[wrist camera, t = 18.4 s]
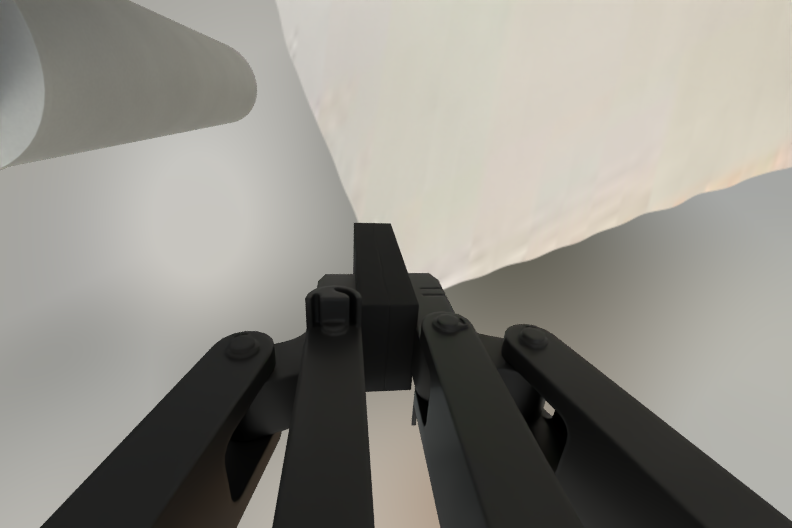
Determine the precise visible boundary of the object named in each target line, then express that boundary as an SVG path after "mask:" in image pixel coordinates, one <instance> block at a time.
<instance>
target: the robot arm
mask: <svg viewBox="0 0 792 528" xmlns="http://www.w3.org/2000/svg"><path fill="white" fill-rule="evenodd" d="M353 266H354V267H353V274H325V275H324V276H323V277H322V278H321V279H320V280H319V281H318V286H317V289H314V290H313V291H311V292H310V293H308V295H307V296H306V298H305V302H306V323H307V329H306V332H305V333H304V334H302V335H301V336H299V337H297V338H295V339H292V340H289V341H286V342H281V343H277V344H274V343H273V340H272V338H271V337H270V336H268V335H267V334H265V333H261V332H257V331H244V332H239V333H235V334H232V335H229V336H227V337H225V338H223V339H221V340H220V341H219V342H217V343H216V344H215V345H214V346H213V347H212V348H211V349H210V350H209V351H208V352H207V353H206V354H205V355H204V356H203V357H202V358H201V359H200V361H198V362H197V363H196V364H195V366H194V367H193V368H192V369H191V370H190V371H189V372H188V373H187V374H186V375H185V376H184V377H183V378H182V379H181V380H180V381H179V382H178V383H177V384H176V386H174V388H173V389H172V390H171V391H170V392H169V393H168V394H167V395H166V396H165V397H164V398H163V399H162V400H161V401H160V402H159V403H158V404H157V405H156V407H155V408H154V409H153V410H152V411H151V412H150V413H149V414H148V415H147V416H146V417H145V418H144V419H143V420H142V421H141V422H140V423H139V424H138V426H136V427H135V428H134V429H133V431H132V432H131V433H130V434H129V435H128V436H127V437H126V438H125V439H124V440H123V441H122V442H121V443H120V444H119V445H118V446H117V447H116V448H115V449H114V450H113V452H112V453H111V454H110V455H109V456H108V457H107V458H106V459H105V460H104V461H103V462H102V463H101V464H100V465H99V466H98V467H97V468H96V469H95V471H93V473H92V474H91V475H90V476H89V477H88V478H87V479H86V480H85V481H84V482H83V483H82V484H81V485H80V486H79V487H78V488H77V489H76V490H75V492H74V493H73V494H72V495H71V496H70V497H69V498H68V499H67V500H66V501H65V502H64V503H63V504H62V505H61V506H60V507H59V508H58V509H57V510H56V511H55V512H54V513H53V515H52V516H51V517H50V518H49V519H48V520H47V521H46V522H45V523H44V524H43V525H42V526H41V527H40V528H237V526H238V524H239V522H240V519H241V517H242V515H243V513H244V511H245V509H246V507H247V505H248V503H249V501H250V499H251V497H252V495H253V493H254V491H255V489H256V487H257V484H258V483H259V481H260V479H261V476H262V474H263V472H264V470H265V468H266V466H267V464H268V462H269V460H270V458H271V456H272V454H273V452H274V450H275V448H276V446H277V444H278V441H279V439H280V437H281V432H282V431H283V430H286V429H289V434H288V439H287V445H286V451H285V457H284V463H283V468H282V475H281V480H280V486H279V492H278V497H277V503H276V510H275V515H274V521H273V527H272V528H374V513H373V497H372V482H371V469H370V452H369V437H368V422H367V407H366V393H365V392H371V391H394V390H411V383H412V376H413V380H414V385H415V394H414V404H413V414H412V425H416V418H417V421H418V425H419V430H420V434H421V440H422V444H423V449H424V454H425V458H426V463H427V468H428V471H429V477H430V482H431V486H432V491H433V495H434V499H435V505H436V509H437V514H438V519H439V523H440V528H792V521H791V520H789V519H788V518H787V517H786V516H784V515H783V514H782V513H780V512H779V511H778V510H777V509H775V508H774V507H773V506H771V505H770V504H769V503H768V502H766V501H765V500H764V499H763V498H761V497H760V496H759V495H757V494H756V493H755V492H754V491H752V490H751V489H750V488H749V487H747V486H746V485H745V484H743V483H742V482H741V481H740V480H738V479H737V478H736V477H734V476H733V475H732V474H731V473H729V472H728V471H727V470H726V469H724V468H723V467H722V466H720V465H719V464H718V463H717V462H715V461H714V460H713V459H712V458H710V457H709V456H708V455H706V454H705V453H704V452H702V451H701V450H700V449H699V448H697V447H696V446H695V445H694V444H692V443H691V442H690V441H688V440H687V439H686V438H685V437H683V436H682V435H681V434H679V433H678V432H677V431H676V430H674V429H673V428H672V427H671V426H669V425H668V424H667V423H666V422H664V421H663V420H662V419H660V418H659V417H658V416H657V415H655V414H654V413H653V412H652V411H650V410H649V409H648V408H646V407H645V406H644V405H642V404H641V403H640V402H639V401H638V400H636V399H635V398H634V397H632V396H631V395H630V394H628V393H627V392H626V391H625V390H623V389H622V388H621V387H619V386H618V385H617V384H616V383H614V382H613V381H612V380H611V379H609V378H608V377H607V376H606V375H604V374H603V373H602V372H600V371H599V370H598V369H597V368H595V367H594V366H593V365H592V364H590V363H589V362H588V361H586V360H585V359H584V358H583V357H581V356H580V355H579V354H577V353H576V352H575V351H574V350H572V349H571V348H570V347H569V346H567V345H566V344H565V343H563V342H562V341H561V340H559V339H558V338H557V337H556V336H555V335H553V334H552V333H550V332H548V331H546V330H545V329H542V328H539V327H537V326H534V325H528V324H519V325H513V326H511V327H509V328H508V329H507V330H506V331H505V335H504V338H499V337H493V336H488V335H483V334H479V333H477V332H476V331H475V329H474V327H473V325H472V324H471V323H470V322H469V320H468V319H466V318H464V317H463V316H461V315H459V314H455V312H454V310H453V308H452V306H451V304H450V302H449V301H448V299H447V297H446V296H445V293H444V291H443V289H442V287H441V285H440V283H439V281H438V279H436V278H435V277H433V276H432V275H431V274H429V273H408V272H407V269H406V266H405V263H404V260H403V258H402V255H401V252H400V249H399V246H398V243H397V241H396V238H395V235H394V232H393V229H392V226H391V224H386V223H354V265H353ZM545 401H547V402H548V403H549V404H550V405H551V406H552V407H553V408H554V409H555V412H554V415H553V416H551V415H550V414H549V413H548V412H546V410H544V408H543V407H544V404H545Z"/></svg>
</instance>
